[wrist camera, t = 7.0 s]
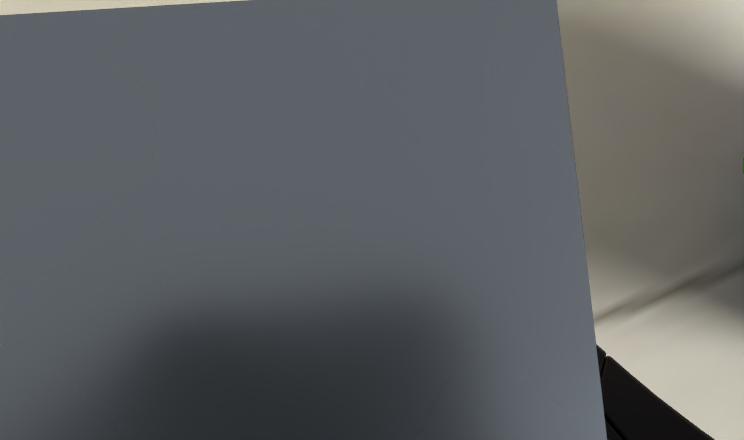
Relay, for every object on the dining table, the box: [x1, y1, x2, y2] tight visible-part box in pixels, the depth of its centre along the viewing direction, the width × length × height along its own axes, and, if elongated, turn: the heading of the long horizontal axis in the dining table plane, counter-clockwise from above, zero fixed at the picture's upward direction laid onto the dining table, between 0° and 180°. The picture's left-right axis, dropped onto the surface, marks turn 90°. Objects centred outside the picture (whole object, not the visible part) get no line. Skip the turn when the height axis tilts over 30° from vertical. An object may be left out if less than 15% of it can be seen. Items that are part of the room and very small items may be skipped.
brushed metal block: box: [0, 0, 607, 440], centre depth 9 cm, size 5×5×13 cm
